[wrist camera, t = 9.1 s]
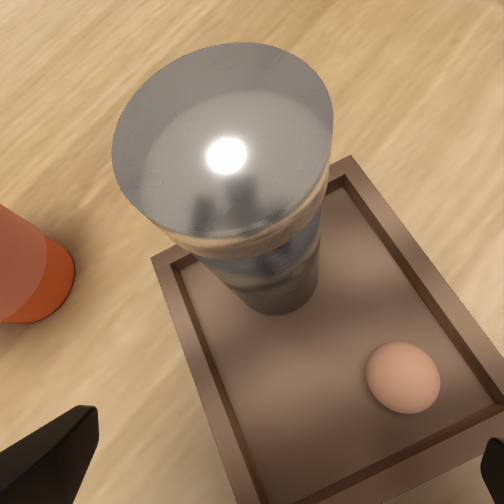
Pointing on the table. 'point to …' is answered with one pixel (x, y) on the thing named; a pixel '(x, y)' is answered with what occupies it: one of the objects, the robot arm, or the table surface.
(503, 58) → the table surface
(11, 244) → the cup with straw
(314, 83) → the shaker
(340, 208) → the tray
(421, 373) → the ball
